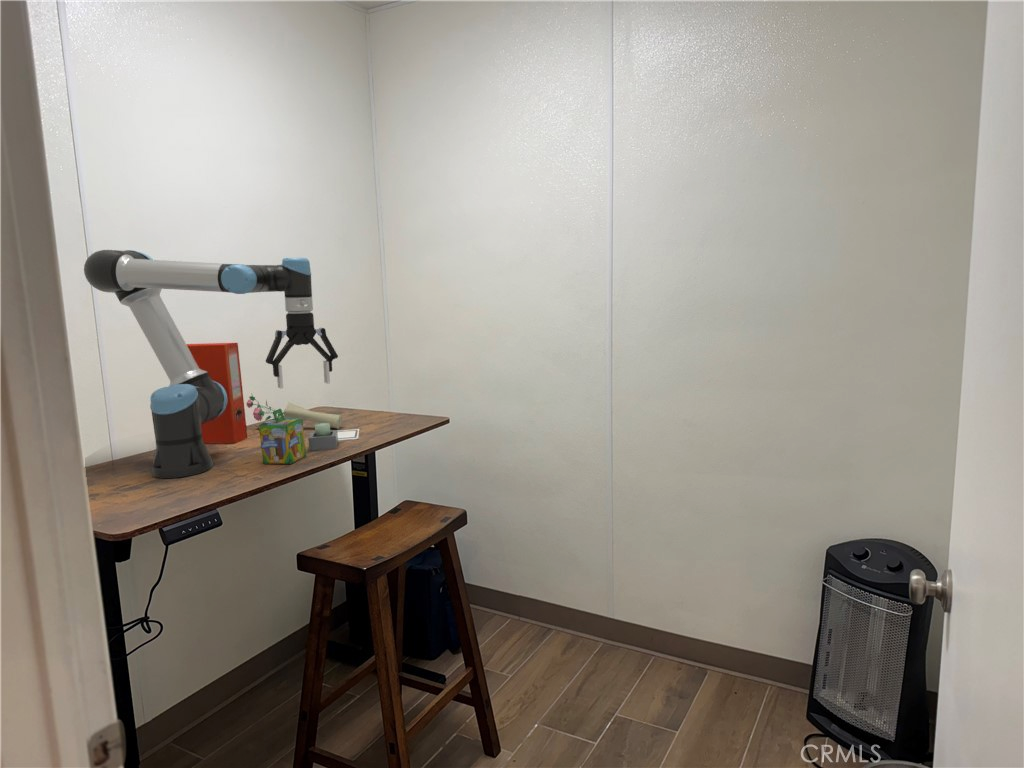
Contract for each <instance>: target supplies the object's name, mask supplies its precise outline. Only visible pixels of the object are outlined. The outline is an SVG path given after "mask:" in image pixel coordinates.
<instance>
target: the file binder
mask: <svg viewBox="0 0 1024 768" xmlns="http://www.w3.org/2000/svg"><path fill="white" fill-rule="evenodd" d="M186 345H187V347H188V348H189V350H190V352H191V354H192V356H193V358H194V359H195V361H196V363H197V365H198V367H199V368H200V369H201V370H204V371H207V372H208V374H209V375H210V377H211V379H212V381H215V382H217V383H219V384H220V385H222V387H223V388H224V389H225V391H226V394H227V406H226V408H225V410H224V412H223V413H222V414H221V415H220V416H218V417H217V418H216V419H214V420H212V421H210V422H207V423H204V424H202V425H201V430H202V438H203V442H204V444H237V443H239V442H242V441H243V440H246V439H248V429H247V421H246V411H245V410H246V409H245V402H244V401H245V400H244V393H243V392H244V391H243V382H242V381H243V380H242V373H241V372H242V371H241V363H240V351H239V344H238V342H217V343H216V342H213V343H211V342H210V343H209V342H208V343H186Z"/></svg>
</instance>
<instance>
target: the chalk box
mask: <svg viewBox="0 0 1024 768" xmlns="http://www.w3.org/2000/svg"><path fill="white" fill-rule="evenodd" d="M274 410H275V411H273V410H272V415H273V418H274V419H269V420H266V421H265V422H262V423H260V424H259V425H258V430H259V438H260V439H259V440H260V445H261V446H260V447H261V453H262V454H261V455H262V464H264V465H265V464H266V465H269V464H271V465H273V464H274V465H276V464H281V465H283V464H284V465H285V464H289V465H291V464H293V463H295V462H297V461H299V460H301V459H303V458H305V457H307V456H306V455H307V454H306V453H307V452H306V443H305V442H306V441H305V433H304V420H303V419H292V418H285V416H284V414H283V412H284V411H283V410H282V409H281V408H278V409H274ZM278 413H279V414H280V415H281V416H280V417H277V416H278Z"/></svg>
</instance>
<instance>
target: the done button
mask: <svg viewBox="0 0 1024 768" xmlns="http://www.w3.org/2000/svg"><path fill="white" fill-rule="evenodd" d="M314 429H315V430H314V432H315V433H316V437H319V436H331V434H330V431H331V427H330V424H329V423H320V424H319V423H316V424H314Z"/></svg>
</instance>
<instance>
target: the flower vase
mask: <svg viewBox="0 0 1024 768" xmlns="http://www.w3.org/2000/svg"><path fill="white" fill-rule="evenodd" d="M250 395H251V396H248V397H249V399H248V400H247V401H246V407H247V408H249V409H251V408H253V406H254V405H255V406H256V407H255V408H254V410H253V412H252V413H253V414H252V415H253V418H254V419H255V420H256V421H258V422H261V421H262V420H263V417H265V414H266V413H271V411H272V412H273V411H275V410H276V409H273V407H272V406H269V404H268V400H267V399H266V401H265V406H264V405H261V404H260V403H259V401H258V400H257V399H256V397H255V396H254V395H253V393H251V394H250ZM254 401H256V402H257V404H256V403H254ZM263 409H265V410H266V411H264V410H263ZM282 412H283V415H284V418H292V419H303V421H307V422H313V423H316V424H320V423H329V424H330V428H334V429H336V430H339V429H340V428H341V426H342V423H343V416H342V415H341V414H333V413H326V412H319V411H312V410H309V409H308V408H304V407H301V406H299V405H296V404H294V403H292V402H288V403H287V404H286V406H285V408H284V411H282ZM271 418H272V416H271V415H268V416H267V417H266V418H265V420H264V421H265V422H267V421H269V420H271ZM277 418H281V415H280V414H279V413H278V414H277Z"/></svg>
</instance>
